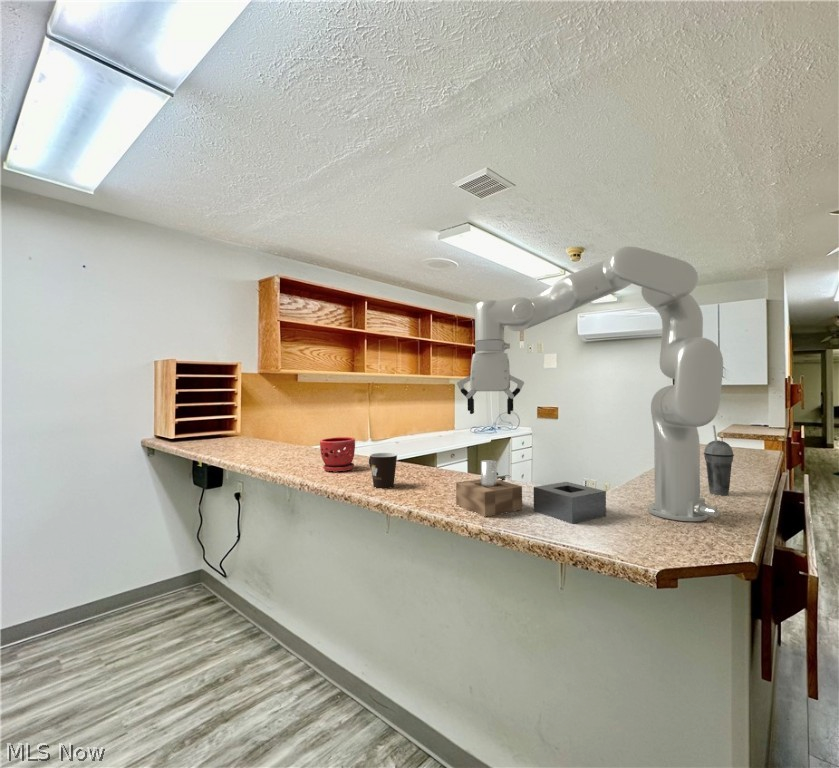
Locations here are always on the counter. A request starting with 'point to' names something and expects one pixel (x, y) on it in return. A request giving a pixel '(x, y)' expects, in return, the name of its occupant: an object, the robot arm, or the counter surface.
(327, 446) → the plant pot
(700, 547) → the counter surface
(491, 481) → the silver metal cylinder
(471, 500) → the block
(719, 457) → the beverage cup
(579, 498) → the socket block
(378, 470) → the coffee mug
